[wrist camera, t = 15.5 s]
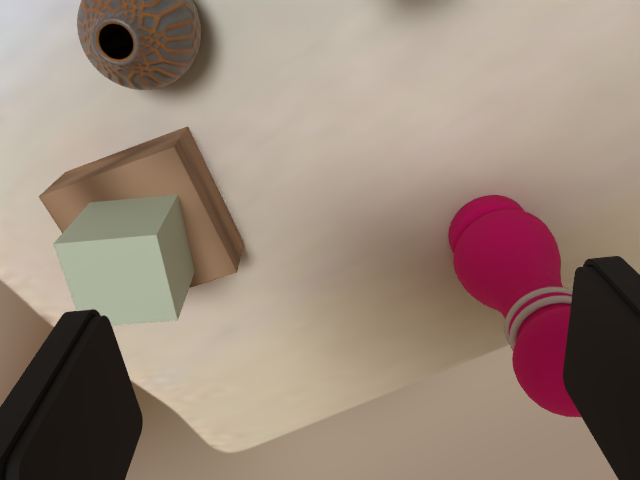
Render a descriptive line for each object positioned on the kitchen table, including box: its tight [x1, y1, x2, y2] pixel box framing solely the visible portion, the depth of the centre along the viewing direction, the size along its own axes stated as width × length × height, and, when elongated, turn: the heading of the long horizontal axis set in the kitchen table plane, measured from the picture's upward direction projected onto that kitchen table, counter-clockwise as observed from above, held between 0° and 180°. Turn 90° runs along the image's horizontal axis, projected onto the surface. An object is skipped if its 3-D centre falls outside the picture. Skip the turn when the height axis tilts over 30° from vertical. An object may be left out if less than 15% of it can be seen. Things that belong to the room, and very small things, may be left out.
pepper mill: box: [449, 195, 581, 417], centre depth 35 cm, size 7×7×20 cm
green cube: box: [54, 195, 195, 326], centre depth 36 cm, size 6×6×6 cm
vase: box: [77, 0, 201, 90], centre depth 33 cm, size 7×7×9 cm
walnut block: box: [39, 127, 243, 288], centre depth 41 cm, size 10×10×5 cm
